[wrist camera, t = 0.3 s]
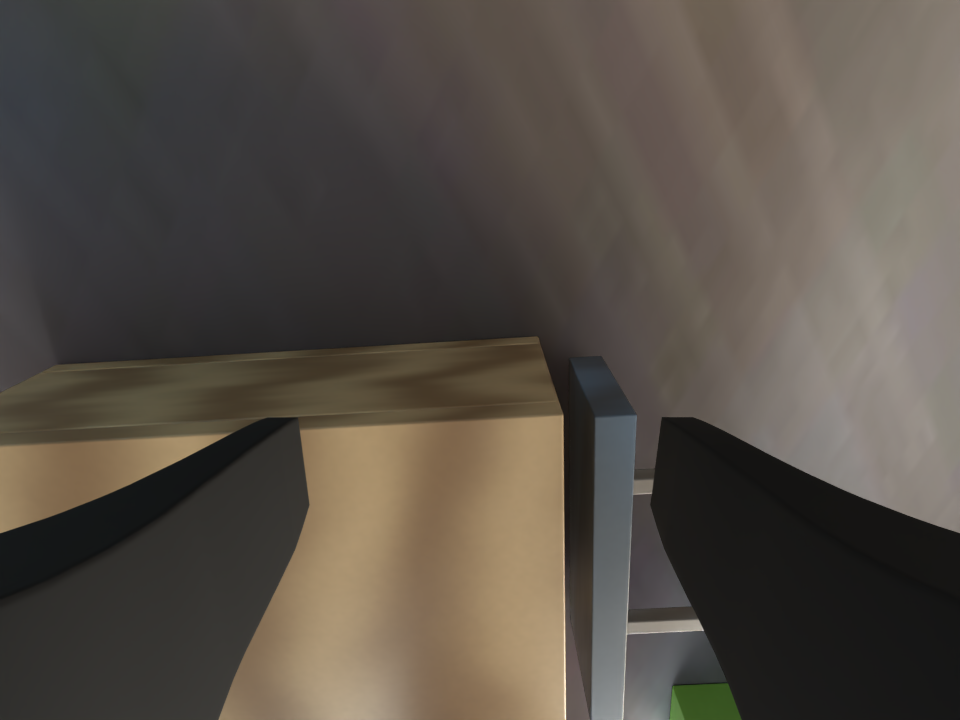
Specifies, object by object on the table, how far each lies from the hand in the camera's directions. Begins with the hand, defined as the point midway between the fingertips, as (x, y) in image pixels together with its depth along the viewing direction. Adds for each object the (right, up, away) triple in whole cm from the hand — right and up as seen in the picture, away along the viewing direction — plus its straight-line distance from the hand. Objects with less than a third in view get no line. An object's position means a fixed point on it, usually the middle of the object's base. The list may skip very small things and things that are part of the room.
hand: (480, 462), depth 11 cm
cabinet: (-7, -4, +12) cm, 14 cm away
